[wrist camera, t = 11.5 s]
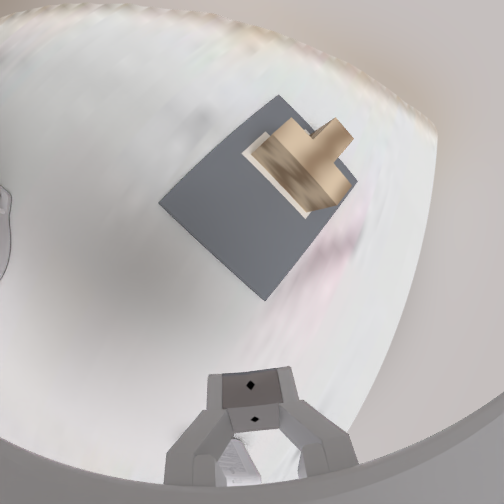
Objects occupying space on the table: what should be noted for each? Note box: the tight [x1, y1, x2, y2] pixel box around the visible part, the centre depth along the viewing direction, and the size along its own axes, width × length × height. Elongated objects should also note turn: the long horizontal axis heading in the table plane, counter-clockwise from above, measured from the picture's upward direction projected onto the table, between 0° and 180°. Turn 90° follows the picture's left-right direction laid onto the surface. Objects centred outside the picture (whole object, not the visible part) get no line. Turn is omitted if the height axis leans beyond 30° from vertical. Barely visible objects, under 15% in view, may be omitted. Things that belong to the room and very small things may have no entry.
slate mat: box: [159, 95, 358, 301], centre depth 40 cm, size 20×26×1 cm
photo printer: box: [217, 438, 262, 486], centre depth 32 cm, size 10×4×12 cm, turn 67°
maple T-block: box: [251, 117, 354, 213], centre depth 37 cm, size 12×10×8 cm
